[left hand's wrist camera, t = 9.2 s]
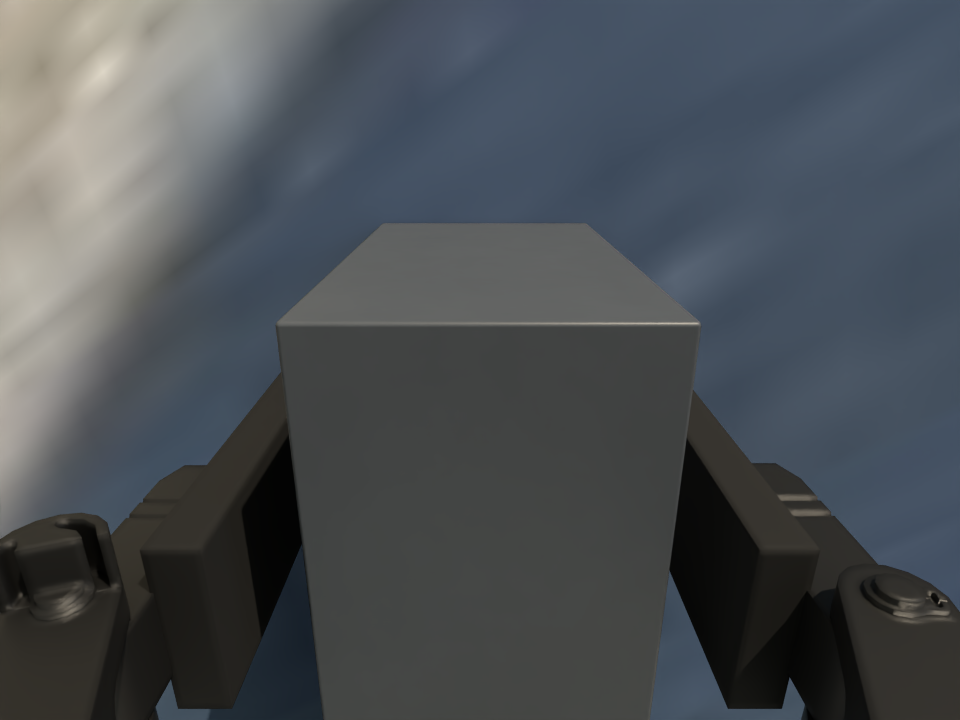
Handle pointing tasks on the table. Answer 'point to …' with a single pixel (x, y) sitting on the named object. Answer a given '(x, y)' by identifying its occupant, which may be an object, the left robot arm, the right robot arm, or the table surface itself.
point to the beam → (487, 472)
